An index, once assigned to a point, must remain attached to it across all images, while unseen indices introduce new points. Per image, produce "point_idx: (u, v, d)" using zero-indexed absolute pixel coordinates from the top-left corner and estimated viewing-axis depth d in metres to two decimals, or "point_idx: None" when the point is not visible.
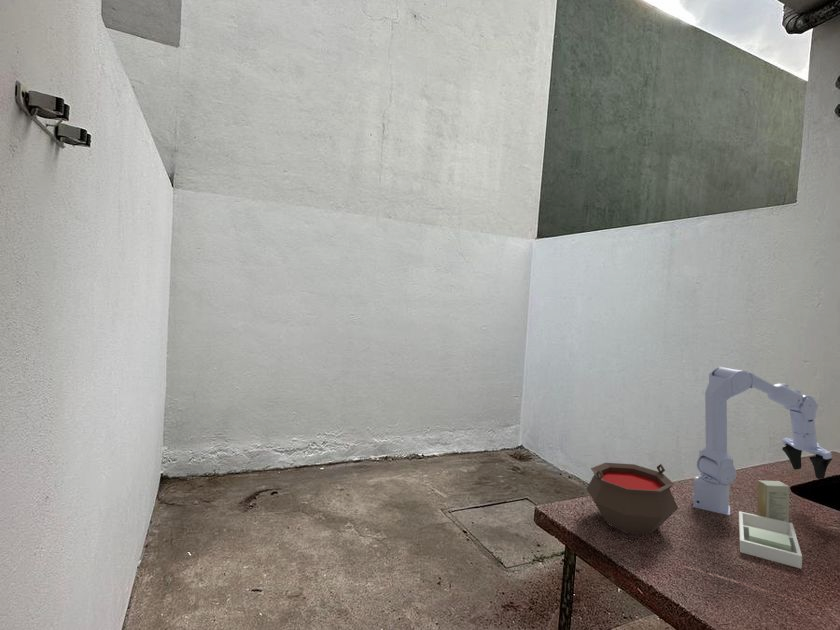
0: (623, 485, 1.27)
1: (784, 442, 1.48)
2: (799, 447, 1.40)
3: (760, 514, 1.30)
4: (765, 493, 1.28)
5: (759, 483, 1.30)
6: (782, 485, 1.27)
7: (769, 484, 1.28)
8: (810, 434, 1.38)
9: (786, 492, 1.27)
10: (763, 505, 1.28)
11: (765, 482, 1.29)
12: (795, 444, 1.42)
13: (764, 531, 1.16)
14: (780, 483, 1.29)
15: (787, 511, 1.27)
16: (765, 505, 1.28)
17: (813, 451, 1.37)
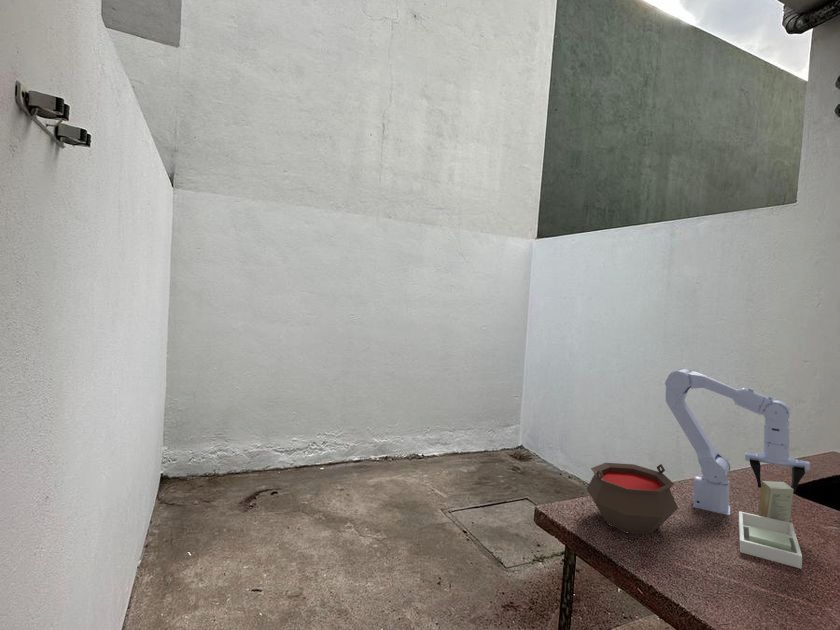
0: (623, 485, 1.27)
1: (748, 458, 1.31)
2: (780, 461, 1.26)
3: (761, 513, 1.29)
4: (768, 496, 1.26)
5: (763, 484, 1.29)
6: (786, 488, 1.26)
7: (773, 486, 1.26)
8: (788, 444, 1.26)
9: (790, 495, 1.25)
10: (765, 506, 1.27)
11: (769, 484, 1.28)
12: (774, 458, 1.27)
13: (764, 531, 1.16)
14: (784, 485, 1.27)
15: (789, 512, 1.26)
16: (767, 507, 1.27)
17: (795, 463, 1.25)
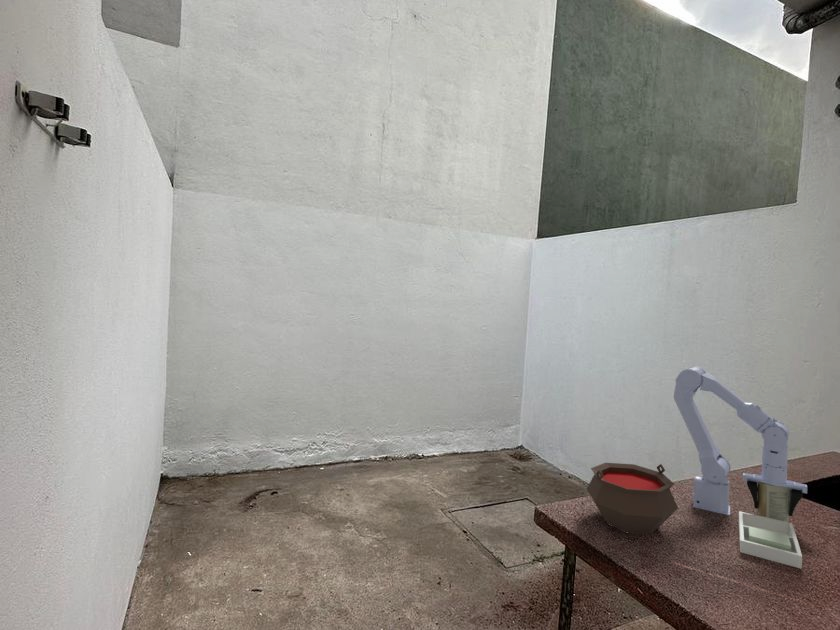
0: (623, 485, 1.27)
1: (746, 478, 1.32)
2: (778, 483, 1.26)
3: (760, 514, 1.30)
4: (765, 493, 1.28)
5: (759, 483, 1.30)
6: None
7: None
8: (786, 467, 1.27)
9: (786, 492, 1.27)
10: (763, 505, 1.28)
11: None
12: (772, 480, 1.27)
13: (764, 531, 1.16)
14: None
15: (787, 511, 1.27)
16: (765, 505, 1.28)
17: (793, 486, 1.25)
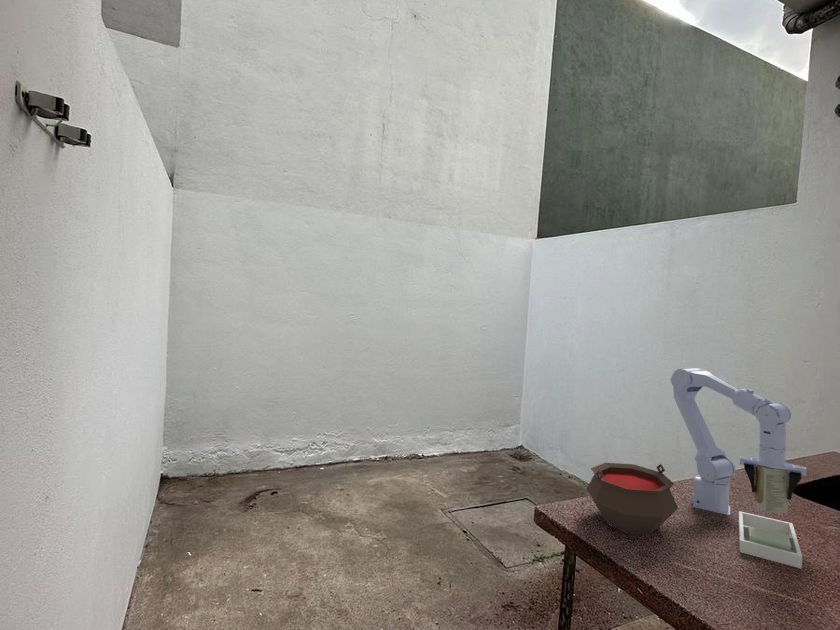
0: (623, 485, 1.27)
1: (743, 461, 1.27)
2: (776, 465, 1.22)
3: (758, 498, 1.26)
4: (762, 477, 1.24)
5: None
6: None
7: (767, 467, 1.24)
8: None
9: (784, 475, 1.22)
10: (761, 488, 1.24)
11: None
12: (769, 462, 1.23)
13: (764, 531, 1.16)
14: None
15: (786, 496, 1.22)
16: (762, 489, 1.23)
17: (791, 468, 1.21)
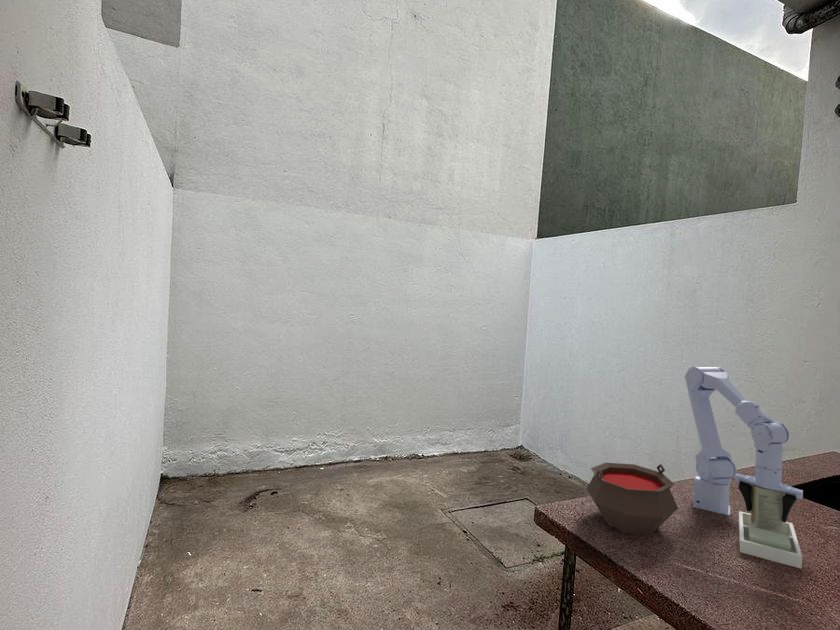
0: (623, 485, 1.27)
1: (738, 479, 1.26)
2: (768, 485, 1.19)
3: (752, 518, 1.24)
4: (755, 496, 1.22)
5: (752, 486, 1.24)
6: (776, 490, 1.20)
7: (761, 487, 1.22)
8: (780, 470, 1.19)
9: (779, 497, 1.19)
10: (754, 508, 1.22)
11: None
12: (762, 482, 1.20)
13: (764, 531, 1.16)
14: None
15: (780, 518, 1.19)
16: (755, 509, 1.22)
17: (785, 490, 1.17)
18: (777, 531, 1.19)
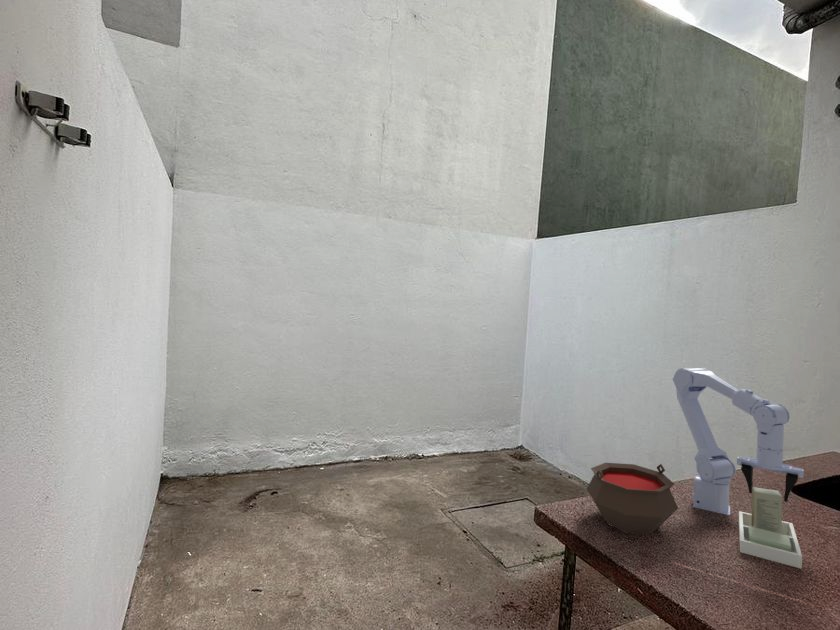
0: (623, 485, 1.27)
1: (740, 462, 1.27)
2: (772, 466, 1.21)
3: (752, 522, 1.24)
4: (753, 500, 1.22)
5: (752, 489, 1.24)
6: (774, 494, 1.20)
7: (760, 490, 1.22)
8: (782, 450, 1.22)
9: (778, 502, 1.19)
10: (753, 512, 1.23)
11: (757, 489, 1.23)
12: (765, 463, 1.22)
13: (764, 531, 1.16)
14: (775, 492, 1.21)
15: (779, 522, 1.19)
16: (753, 512, 1.22)
17: (788, 470, 1.20)
18: None
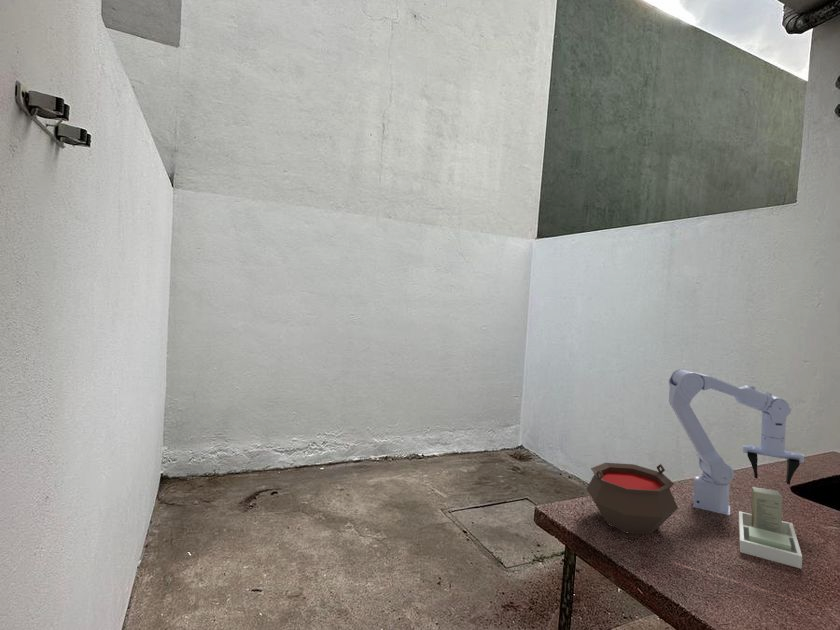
0: (623, 485, 1.27)
1: (746, 450, 1.38)
2: (776, 453, 1.33)
3: (752, 522, 1.24)
4: (753, 500, 1.22)
5: (752, 489, 1.24)
6: (774, 494, 1.20)
7: (760, 490, 1.22)
8: (784, 438, 1.33)
9: (778, 502, 1.19)
10: (753, 512, 1.23)
11: (757, 489, 1.23)
12: (770, 450, 1.33)
13: (764, 531, 1.16)
14: (775, 492, 1.21)
15: (779, 522, 1.19)
16: (753, 512, 1.22)
17: (791, 455, 1.32)
18: None
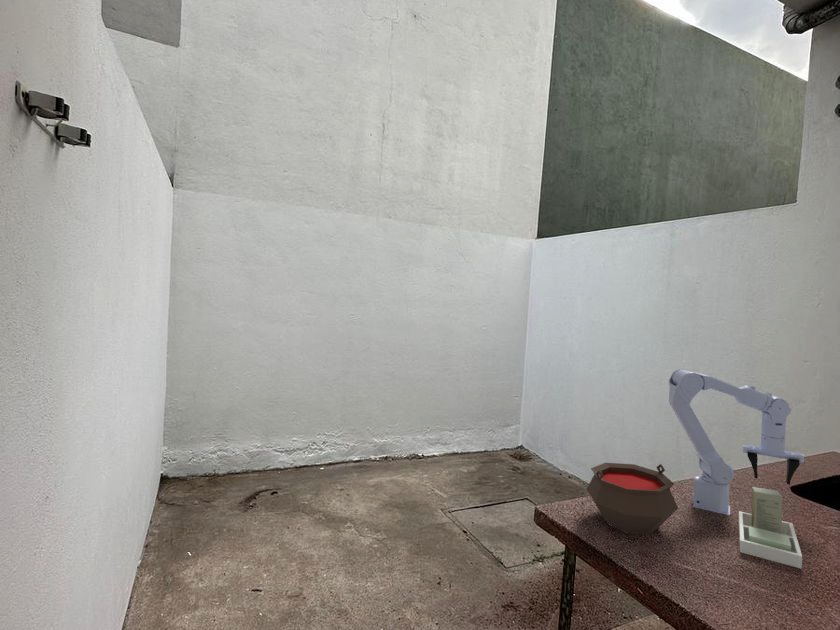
0: (623, 485, 1.27)
1: (746, 450, 1.38)
2: (776, 453, 1.33)
3: (752, 522, 1.24)
4: (753, 500, 1.22)
5: (752, 489, 1.24)
6: (774, 494, 1.20)
7: (760, 490, 1.22)
8: (784, 438, 1.33)
9: (778, 502, 1.19)
10: (753, 512, 1.23)
11: (757, 489, 1.23)
12: (770, 450, 1.33)
13: (764, 531, 1.16)
14: (775, 492, 1.21)
15: (779, 522, 1.19)
16: (753, 512, 1.22)
17: (791, 455, 1.32)
18: None
